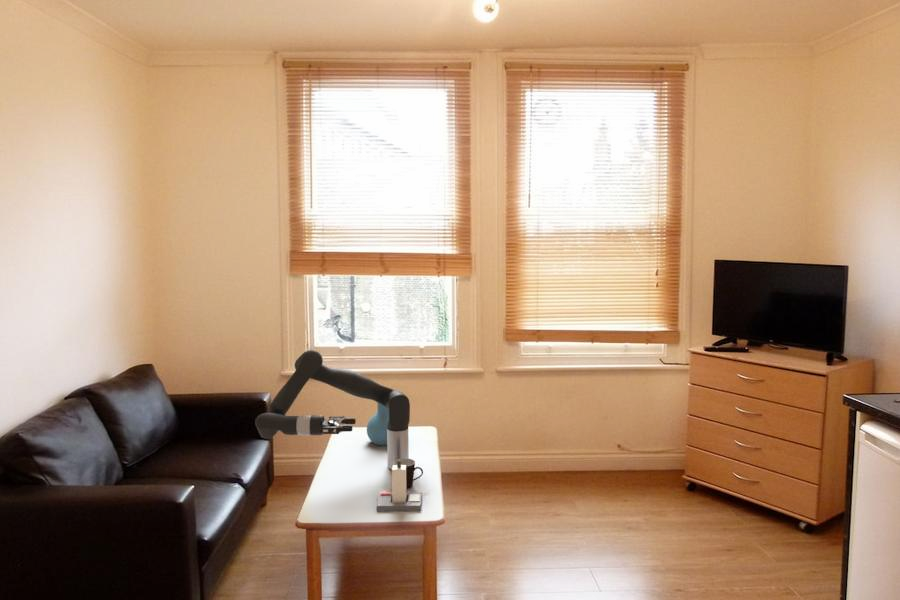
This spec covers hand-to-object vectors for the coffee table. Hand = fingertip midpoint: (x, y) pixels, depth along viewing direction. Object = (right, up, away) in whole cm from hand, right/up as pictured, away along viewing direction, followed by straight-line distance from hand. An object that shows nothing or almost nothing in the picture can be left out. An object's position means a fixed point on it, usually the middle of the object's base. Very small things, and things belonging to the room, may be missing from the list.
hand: (353, 424), depth 230 cm
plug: (+17, -30, 0) cm, 34 cm away
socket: (+17, -30, +1) cm, 35 cm away
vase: (+4, -23, +69) cm, 73 cm away
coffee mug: (+19, -29, +16) cm, 38 cm away
